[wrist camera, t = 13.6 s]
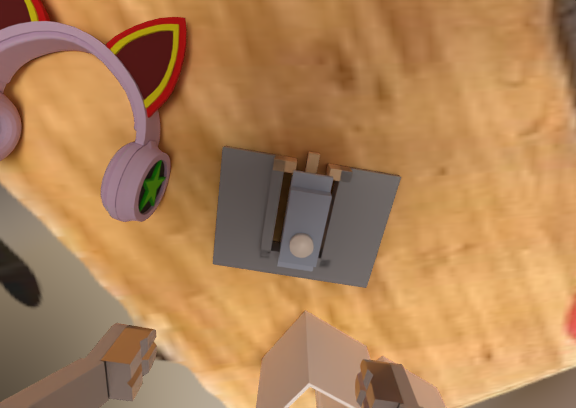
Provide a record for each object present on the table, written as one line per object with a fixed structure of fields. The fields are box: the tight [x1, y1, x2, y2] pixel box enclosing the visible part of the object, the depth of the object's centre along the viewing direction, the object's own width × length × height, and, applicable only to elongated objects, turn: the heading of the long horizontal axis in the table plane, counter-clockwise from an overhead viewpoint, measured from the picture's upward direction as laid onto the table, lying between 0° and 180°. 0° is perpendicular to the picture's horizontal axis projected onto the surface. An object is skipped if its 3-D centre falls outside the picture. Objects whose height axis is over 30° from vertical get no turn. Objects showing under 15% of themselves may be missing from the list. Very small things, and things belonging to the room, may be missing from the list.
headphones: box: [0, 0, 186, 222], centre depth 27 cm, size 20×10×20 cm
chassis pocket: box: [213, 146, 401, 288], centre depth 34 cm, size 20×15×2 cm
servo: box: [277, 151, 333, 271], centre depth 31 cm, size 4×12×7 cm, turn 171°
